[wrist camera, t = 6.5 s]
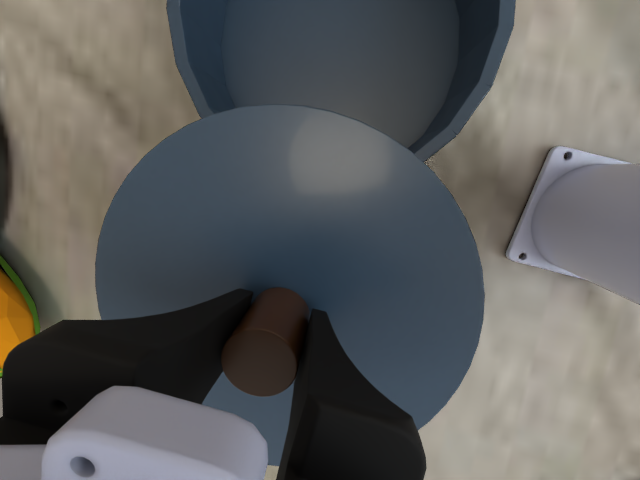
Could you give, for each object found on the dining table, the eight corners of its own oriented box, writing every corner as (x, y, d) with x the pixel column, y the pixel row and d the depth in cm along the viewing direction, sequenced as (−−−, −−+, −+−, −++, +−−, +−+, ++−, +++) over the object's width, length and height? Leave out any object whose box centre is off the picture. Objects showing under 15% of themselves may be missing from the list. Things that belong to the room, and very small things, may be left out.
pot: (510, -65, 17) (583, -167, 12) (418, 209, 21) (442, 223, 16) (237, -130, 17) (190, -257, 12) (199, 153, 21) (152, 148, 16)
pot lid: (540, 169, 12) (655, 171, 7) (403, 483, 16) (424, 601, 12) (128, 62, 12) (5, 2, 8) (102, 399, 16) (14, 483, 12)
